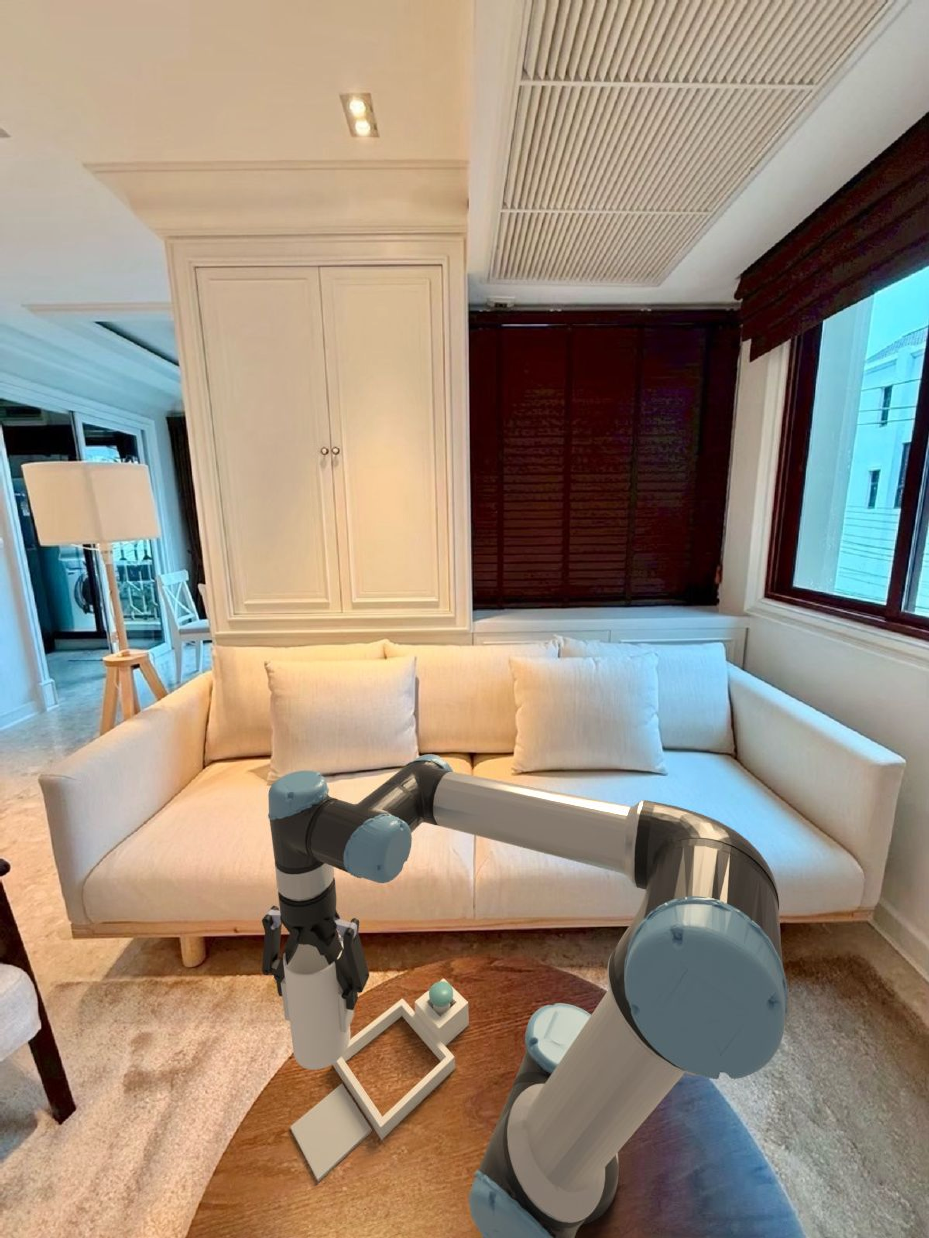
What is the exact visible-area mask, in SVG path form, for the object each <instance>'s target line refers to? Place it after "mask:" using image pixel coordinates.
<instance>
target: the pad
mask: <svg viewBox="0 0 929 1238" xmlns="http://www.w3.org/2000/svg"><path fill="white" fill-rule="evenodd" d="M290 1130H291V1133H292V1134H293V1136H294V1138H295V1141H296V1142H297V1145H298V1146H299V1149H300V1150H301V1152H302V1153H303V1154H302V1155H303V1156H304V1157H305V1159H306V1162H307V1163H308V1166H309V1167H310V1169H311V1172H312V1173H313V1175H314V1177H315V1178H316V1181H317V1183H319V1182H320V1181H321V1180H322V1179H323V1178H324V1177H325V1176H327V1174H329V1172H330V1171H332V1170H333V1169H334V1168H335V1167H336V1166H337V1165H338V1164H339V1163H340V1162H341V1161H342V1160H344V1158H346V1157H347V1156H348V1155H349V1154H350V1153H351V1152H352V1151H353V1150H354V1149H355V1148H356V1147H357V1146H358V1145H359V1144H360V1143H362V1141H363V1140H364V1139H366V1138H367V1136H369V1135H370V1133H371V1134H372V1128H371V1126H370V1124H369V1123H368V1122H367V1120H366V1118H365V1117H364V1116H363V1114H362V1111H360V1109H359V1108H358V1106H357V1104H356V1103H355V1102H354V1100H353V1098H352V1097H351V1096H350V1094H349V1092H348V1091H347V1089H346V1087H345V1086H344V1084H343V1083H340V1084H339V1085H338V1086H337V1087H336V1088H334V1089H333V1090H332V1091H331V1092H330V1093H329V1094H328V1095H327V1094H326V1096H325V1097H324V1098H323V1099H321V1100H320V1101H319V1102H317V1104H315V1105H314V1106H313V1107H312V1108H311V1109H309V1110H308V1111H307V1112H306V1113H304V1114H303V1115H302V1116H301V1117H300V1118H299V1119H297V1120H296V1121H295V1122H293V1124H291V1125H290Z"/></svg>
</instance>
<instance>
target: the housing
mask: <svg viewBox="0 0 929 1238" xmlns="http://www.w3.org/2000/svg"><path fill="white" fill-rule="evenodd" d="M441 981H443V982H447V983H449V982H448V981H447V980H446V979H445V978H442V979H441V980H440V981H439V982H441ZM452 988H453V999H452V1001H451V1002H450V1009H449V1010H447V1011H446V1012H445V1013H444V1014H443V1015H442V1016H439V1015H438V1014H437V1013H436V1012H435V1011H434V1010H433V1004H432V1003H431V1001H430V999H429V990H430V989H428V990H427V991H425V993H423V994H422V995H421V996H420V997H418V998H417V999H416V1000H415V1001H414V1010H413V1008H412V1007H411V1006H410V1005H409V1003H408V1002H407V1001H406V1000H405V999H404V998H401V999H400V1000H399V1001H397V1002H396V1003H394V1004H393V1005H392V1006H391V1007H390V1008H387V1010H386V1011H384V1012H383V1013H382V1014H380V1015H378V1017H377V1018H376V1019H374V1020H373V1021H371V1022H370V1023H369V1024H368V1025H366V1026H365V1027H364V1028H363V1029H361V1030H360V1031H359V1032H357V1033H356V1034H355V1035H354V1036H353V1037H350V1042H349V1045H348V1047H347V1049H346V1051H345V1052H344V1054H343V1055H342V1056H341V1057H340V1058H339V1059H338V1060H337V1061H336V1062H335V1063H333V1064H332V1066H333V1068H334V1069H335V1071H336V1073H337V1074H338V1076H339V1077H340V1078H341V1080H342V1082H343V1083H344V1085H345V1086H346V1088H347V1089H348V1091H349V1093H350V1094H351V1096H352V1097H353V1099H354V1100H355V1102H356V1103H357V1105H358V1106H359V1107H360V1109H361V1112H363V1114H364V1115H365V1117H366V1119H367V1121H369V1123H370V1125H371V1126H372V1127H373V1129H374V1131H375V1132H376V1134H377V1135H378V1137H379V1138H380V1140H381V1141H382V1140H383V1139H385V1138H386V1136H387V1135H389V1134H390V1133H391V1131H393V1130H394V1129H395V1128H396V1127H397V1125H399V1124H400V1123H401V1122H402V1121H403V1120H404V1119H405V1118H406V1117H407V1116H408V1115H409V1114H410V1113H412V1111H413V1110H414V1109H415V1108H416V1107H417V1106H418V1105H419V1104H420V1103H421V1102H423V1100H425V1098H426V1097H428V1095H430V1094H431V1092H433V1091H434V1090H435V1089H436V1088H437V1086H439V1085H440V1084H441V1083H442V1082H443V1081H444V1080H445V1079H446V1078H447V1077H448V1076H449V1075H450V1074H451V1073H452V1072H453V1071H454V1070H455V1069H456V1059H455V1058H456V1057H455V1056H454V1054H453V1053H452V1052H451V1051H450V1050H449V1049H448V1048H447V1045H448V1044H450V1043H451V1041H453V1040H454V1039H455V1038H456V1037H457V1036H458V1035H459V1034H460V1033H461V1032H463V1030H465V1029H466V1028H467V1027H468V1026H469V1025H470V1023H469V1022H470V1021H469V1020H470V1017H469V1002H468V1000H466V999H465V998H464V996H462V995H461V994H460V993H459V991H457V990H456V988H454V987H453V986H452ZM401 1017H402V1018H403V1019H404V1020H405V1021H406V1023H408V1024H409V1026H410V1027H411V1028H412V1030H413V1031H414V1032H415V1033H416V1035H418V1037H419V1038H420V1039H421V1040H422V1042H424V1044H426V1046H427V1047H428V1049H430V1051H432V1053H433V1054H434V1055H435V1056H436V1057H437V1059H438V1060H439V1061H440V1062H439V1063H438V1064H437V1065H436V1066H435V1067H433V1069H431V1071H429V1072H428V1074H426V1076H424V1077H423V1078H422V1079H421V1080H420V1081H419V1082H418V1083H417V1084H416V1085H415V1086H414V1087H412V1088H411V1089H410V1090H409V1091H408V1092H407V1093H406V1094H405V1095H404V1096H403V1097H402V1098H401V1099H400V1100H399V1101H398V1102H396V1104H394V1106H392V1107H391V1108H390V1109H389V1110H388V1111H387V1112H386V1113H385V1114H384V1115H383V1116H382V1114H381V1112H380V1111H379V1110H378V1108H377V1106H376V1105H375V1103H374V1102H373V1101H372V1100H371V1098H370V1096H369V1094H367V1092H366V1090H365V1089H364V1087H363V1086H362V1084H361V1083H360V1082H359V1080H358V1079H357V1077H356V1076H355V1074H354V1073H353V1072H352V1070H351V1068H350V1067H349V1066H348V1064H347V1061H348V1060H350V1059H351V1058H352V1057H353V1056H354V1055H356V1054H357V1053H358V1052H359V1051H361V1050H362V1049H363V1048H364V1047H365V1046H367V1045H368V1044H370V1043H371V1042H372V1041H373V1040H374V1039H376V1038H377V1037H378V1036H379V1035H380V1034H382V1033H383V1032H384V1031H385V1030H386V1029H388V1028H390V1026H391V1025H393V1024H394V1023H395V1022H396V1021H397V1020H399V1019H400V1018H401Z"/></svg>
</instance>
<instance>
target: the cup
mask: <svg viewBox="0 0 929 1238" xmlns="http://www.w3.org/2000/svg"><path fill="white" fill-rule="evenodd" d="M340 938H341V936H340V934H339V941H340V943H341V945H342V947H343V941H341V940H340ZM343 949H344V948H343ZM341 953H342V951H341V952H340V954H339V956H338V958H337V959H339V958H340V956H341ZM283 964H284V973H285V982H286V991H287V1000H288V1009H289V1018H290V1021H289V1026H290V1033H291V1034H290V1035H291V1043H292V1044H291V1045H292V1051H293V1052H292V1053H293V1056H294V1059H295V1061H296V1062H297V1064H298V1065H299V1066H301V1067H302V1068H303V1069H306V1070H311V1071H317V1070H322V1069H325V1068H328V1067H330V1066H331V1065H332V1066H333V1063H335V1062H336V1061H337V1060H338V1059H339V1058H340V1057H341V1056H342V1055H343V1054H344V1052H345V1051H346V1049H347V1047H348V1045H349V1042H350V1039H351V1024H350V1025H349V1028H348V1030H347V1032H346V1033H345V1032H341V1022H340V1010H339V999H338V993H339V991H340V990H341V986H340V984H339V983H338V981H337V979H336V968H335V962H333V963H331V964H330V965H329V964H328V962H327V960H326V958H325V956H324V955H322V956H321V955H320V953H319V951H318V950H317V948H316V947H314V946H311V945H309V944H307V945H302V944H299V945H298V947H297V950H296V952H295V954H294V956H293V957H292V959H291V961H290V962H289V964H288V965H287V961H286V954H285V953H284V956H283Z"/></svg>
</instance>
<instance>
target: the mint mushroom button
mask: <svg viewBox="0 0 929 1238" xmlns="http://www.w3.org/2000/svg"><path fill="white" fill-rule="evenodd" d="M440 981H441V980H440ZM440 981H437V982H435V983H433V984H432V985H431V986H430V988H429V989H428V990H429V999H430V1001H431V1003H432V1004H433V1010H434V1011H435V1012H436V1013H437V1014H438V1015H439V1016H442V1015H443V1014H444V1013H445V1012H446V1011H447V1010H449V1009H450V1002H451V1001H452V999H453V988H454V987H453V986H452V985H451V984H450V983H449V982H448V981H447V982H448V983H447V982H443V981H441V982H440ZM452 987H453V988H452Z"/></svg>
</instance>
